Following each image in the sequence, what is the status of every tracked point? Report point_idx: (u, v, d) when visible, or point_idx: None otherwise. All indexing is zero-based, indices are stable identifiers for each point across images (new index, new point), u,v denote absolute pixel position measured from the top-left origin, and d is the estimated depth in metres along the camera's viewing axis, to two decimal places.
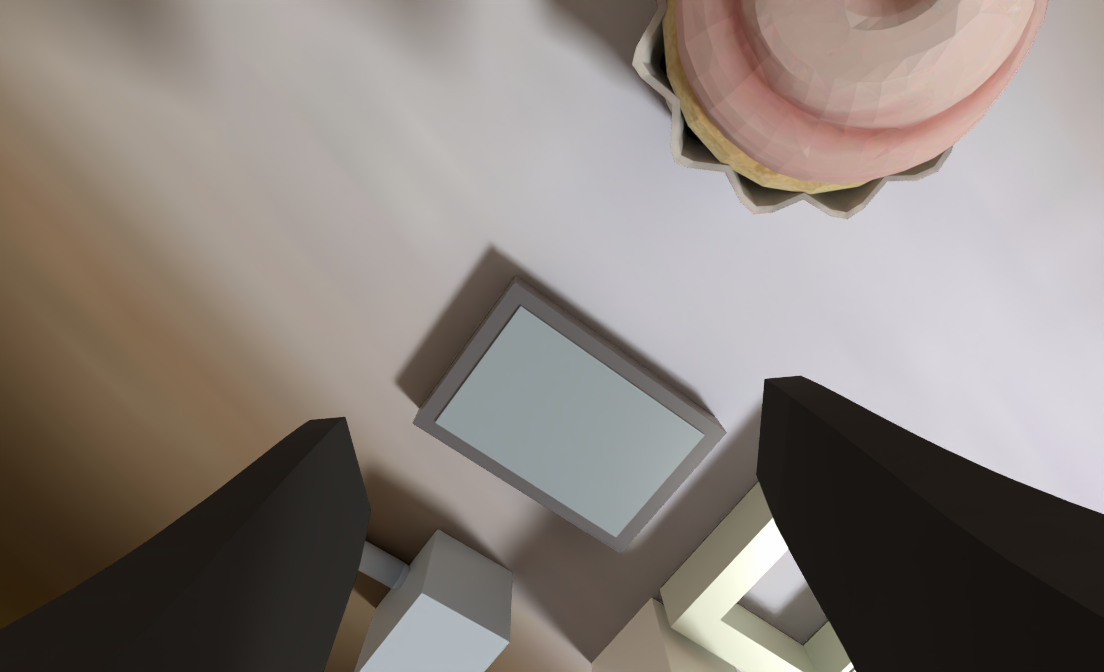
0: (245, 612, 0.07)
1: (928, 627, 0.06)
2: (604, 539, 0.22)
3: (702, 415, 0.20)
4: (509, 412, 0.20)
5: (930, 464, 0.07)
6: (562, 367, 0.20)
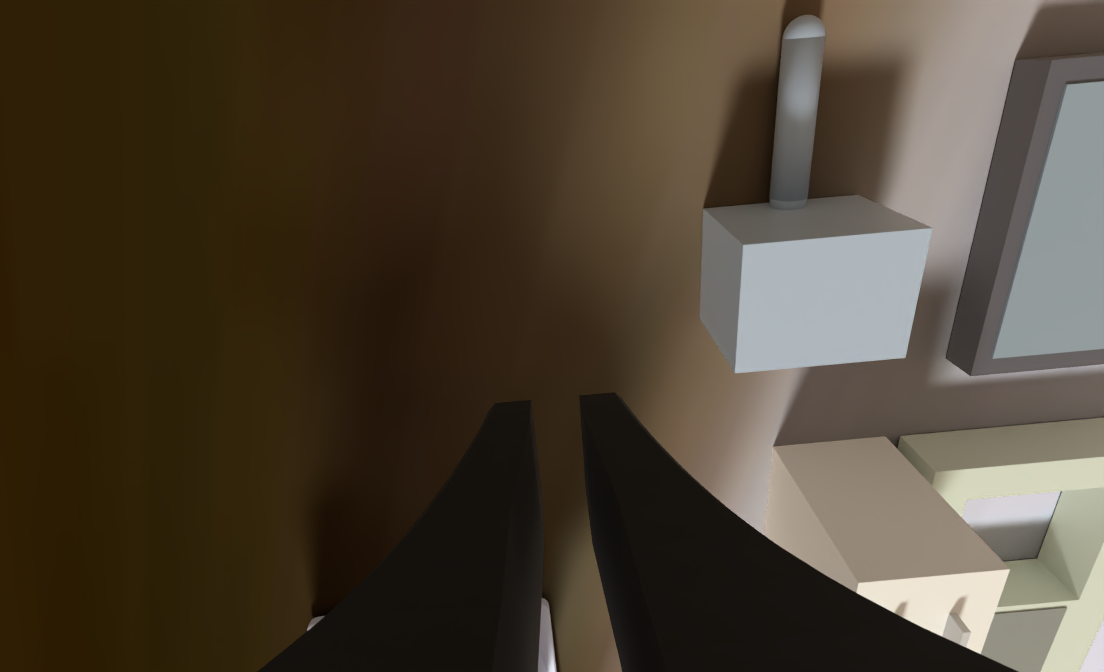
0: (517, 587, 0.07)
1: (635, 654, 0.06)
2: (982, 351, 0.18)
3: None
4: None
5: (660, 488, 0.07)
6: None
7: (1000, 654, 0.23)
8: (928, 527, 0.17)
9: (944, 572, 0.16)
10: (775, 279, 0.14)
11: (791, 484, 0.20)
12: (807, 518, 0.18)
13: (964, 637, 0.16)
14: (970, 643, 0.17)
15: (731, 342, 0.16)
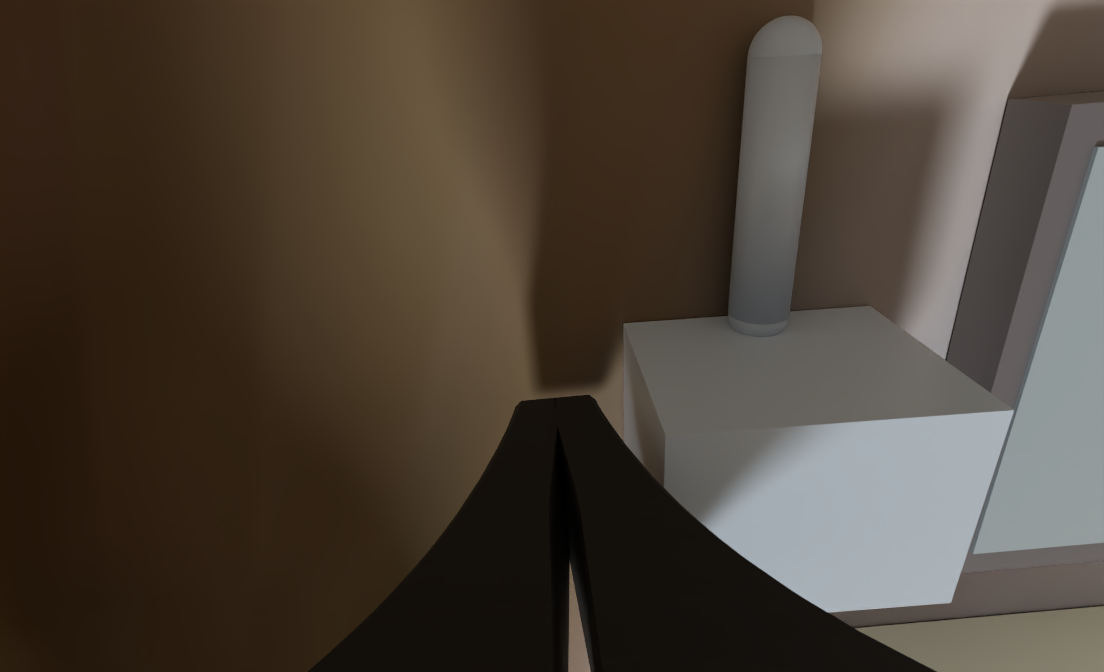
0: (555, 584, 0.07)
1: (594, 657, 0.06)
2: None
3: None
4: None
5: (622, 492, 0.07)
6: None
7: None
8: None
9: None
10: (727, 489, 0.08)
11: None
12: None
13: None
14: None
15: None
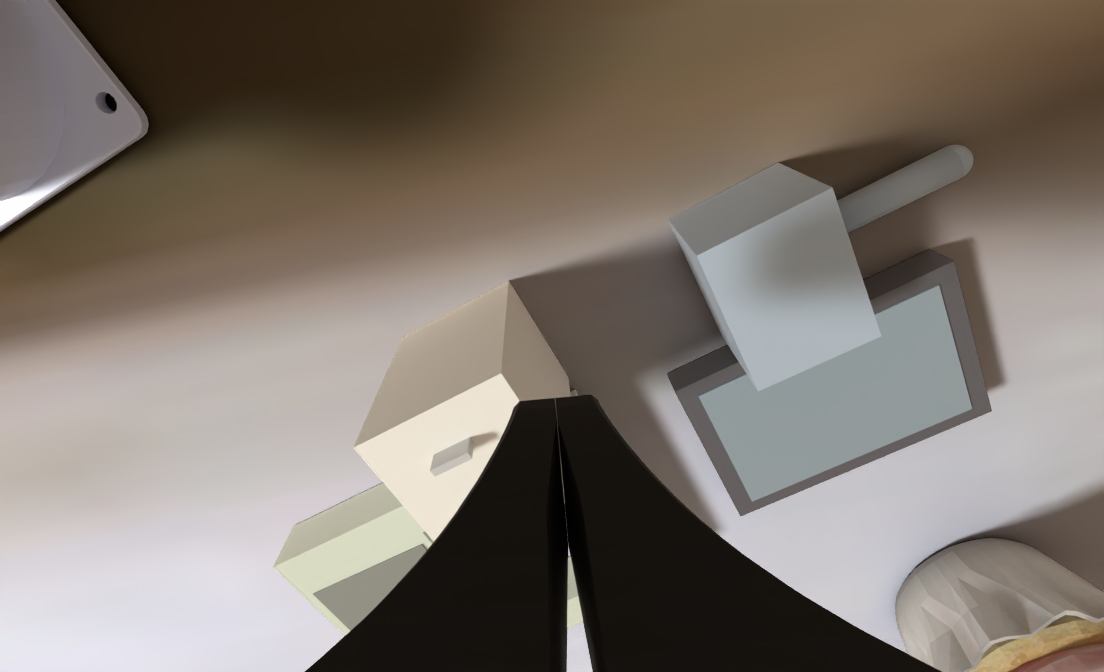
0: (553, 584, 0.07)
1: (597, 658, 0.06)
2: (701, 384, 0.19)
3: (767, 502, 0.21)
4: (890, 356, 0.19)
5: (624, 492, 0.07)
6: (894, 417, 0.20)
7: None
8: None
9: None
10: (805, 237, 0.15)
11: (499, 305, 0.17)
12: (487, 328, 0.16)
13: None
14: None
15: (717, 237, 0.15)
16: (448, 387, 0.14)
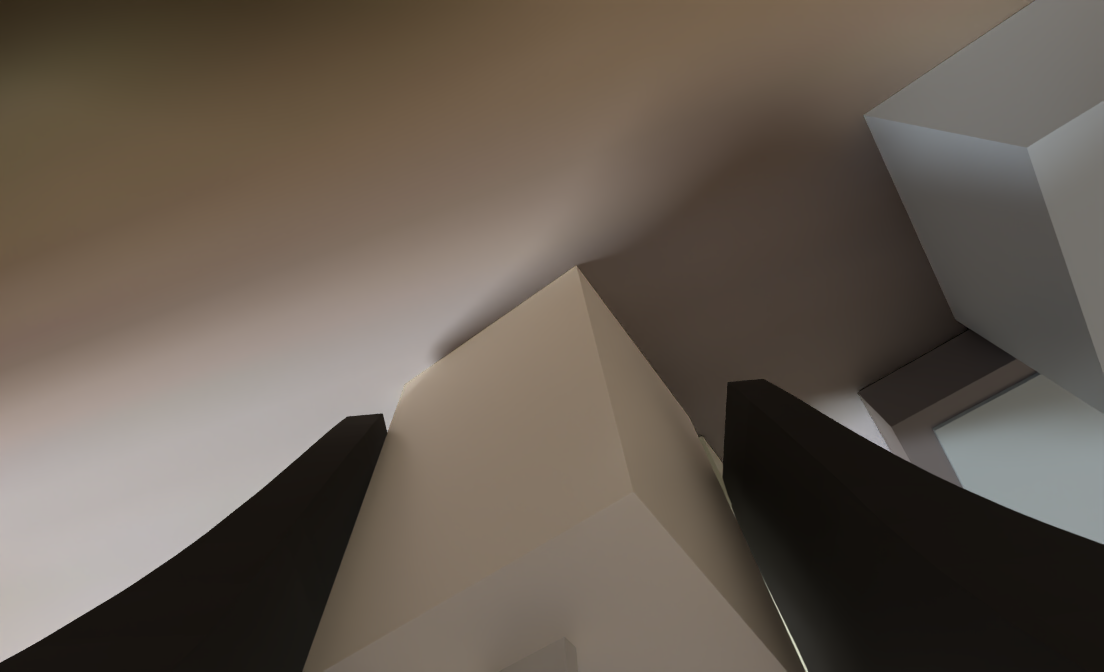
0: (300, 607, 0.07)
1: (869, 631, 0.06)
2: (940, 408, 0.11)
3: None
4: None
5: (876, 469, 0.07)
6: None
7: None
8: (730, 545, 0.08)
9: (754, 627, 0.06)
10: None
11: (571, 311, 0.09)
12: (560, 362, 0.08)
13: None
14: None
15: (1059, 104, 0.07)
16: (500, 523, 0.06)
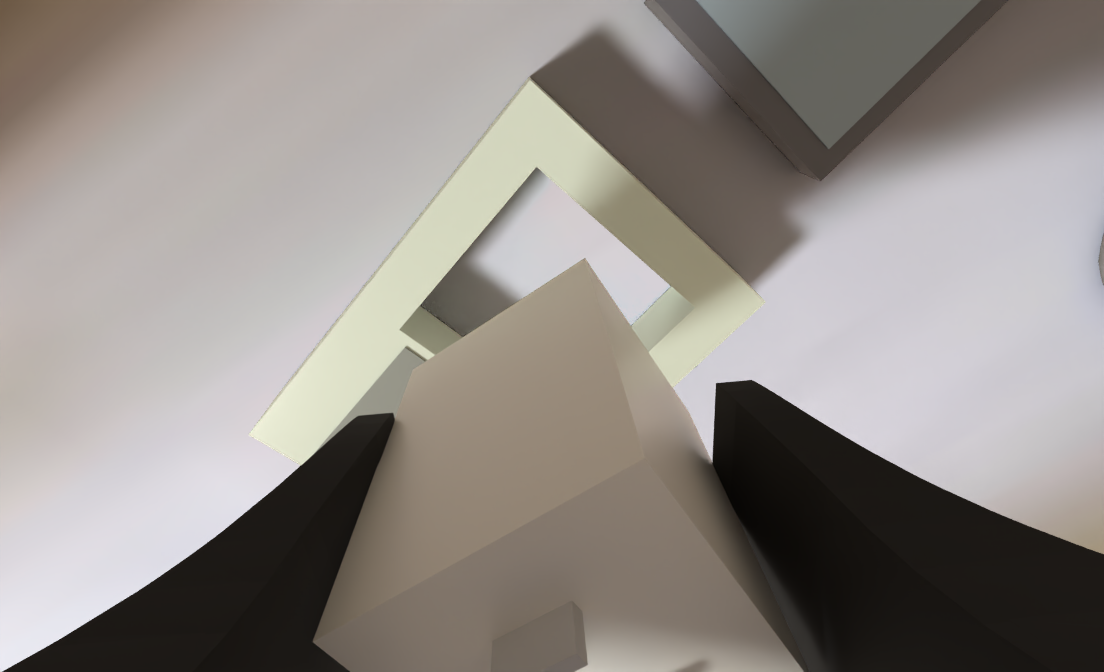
0: (315, 606, 0.07)
1: (852, 633, 0.06)
2: None
3: (853, 146, 0.15)
4: None
5: (859, 470, 0.07)
6: None
7: None
8: (729, 527, 0.08)
9: (753, 599, 0.06)
10: None
11: (580, 300, 0.09)
12: (570, 346, 0.08)
13: None
14: None
15: None
16: (514, 489, 0.06)
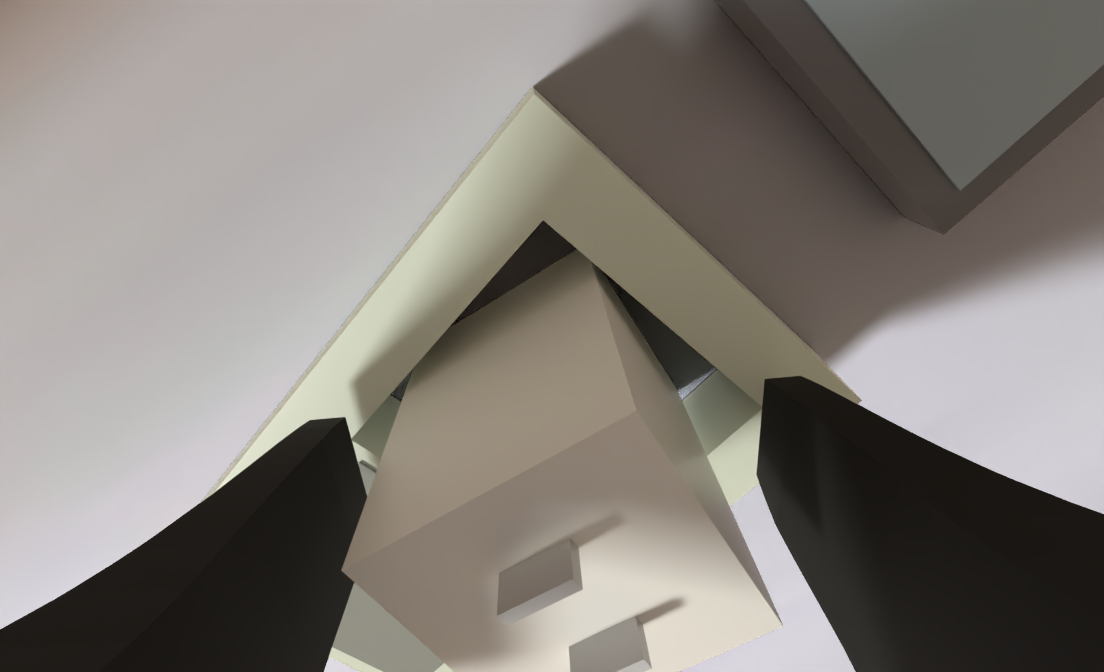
0: (245, 612, 0.07)
1: (928, 627, 0.06)
2: None
3: (992, 186, 0.10)
4: None
5: (930, 464, 0.07)
6: None
7: None
8: (710, 486, 0.09)
9: (727, 541, 0.07)
10: None
11: (580, 281, 0.10)
12: (571, 320, 0.09)
13: (632, 668, 0.07)
14: None
15: None
16: (520, 441, 0.07)
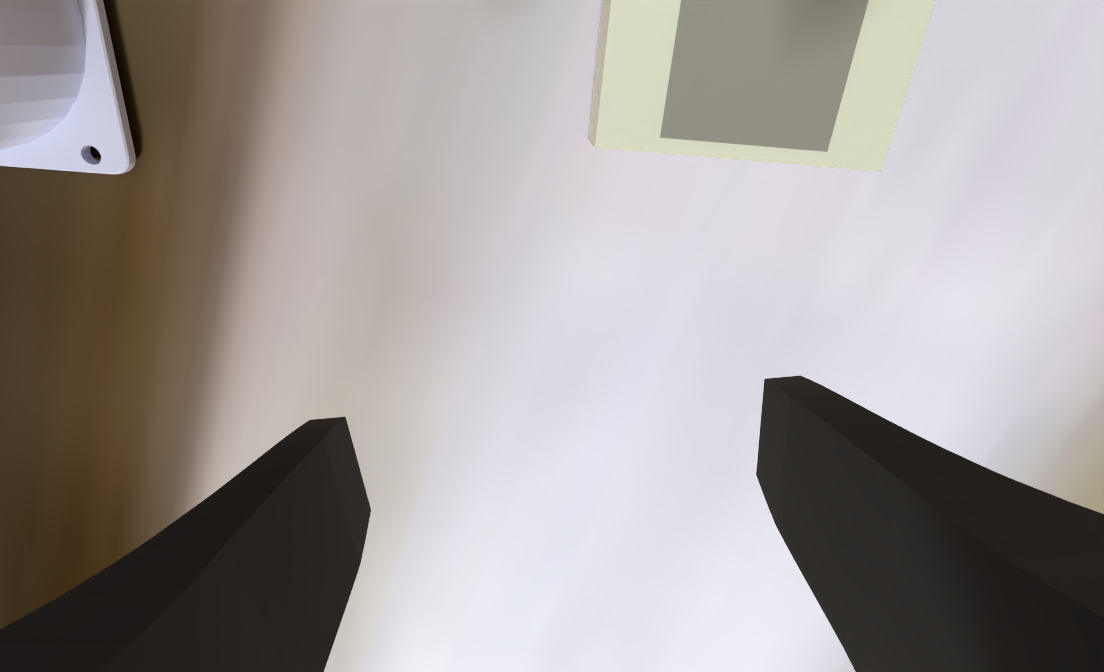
0: (245, 612, 0.07)
1: (928, 626, 0.06)
2: None
3: None
4: None
5: (930, 464, 0.07)
6: None
7: (778, 52, 0.15)
8: None
9: None
10: None
11: None
12: None
13: None
14: None
15: None
16: None
